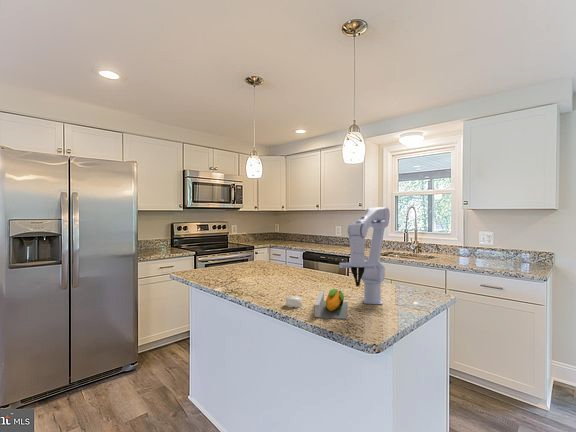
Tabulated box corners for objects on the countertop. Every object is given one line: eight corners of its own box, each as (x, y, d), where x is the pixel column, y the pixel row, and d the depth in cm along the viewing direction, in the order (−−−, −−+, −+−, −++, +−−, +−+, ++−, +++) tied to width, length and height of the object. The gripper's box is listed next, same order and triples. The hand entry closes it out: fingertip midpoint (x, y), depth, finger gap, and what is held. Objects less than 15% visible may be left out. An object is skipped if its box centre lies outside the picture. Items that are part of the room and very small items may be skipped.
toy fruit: (344, 285, 134) (340, 297, 114) (345, 303, 134) (341, 317, 114) (327, 286, 136) (320, 297, 116) (329, 303, 135) (322, 317, 116)
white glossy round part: (287, 303, 136) (287, 295, 136) (302, 304, 135) (302, 296, 135) (284, 307, 130) (284, 299, 130) (300, 308, 128) (300, 300, 128)
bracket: (320, 301, 138) (320, 290, 138) (347, 303, 135) (347, 291, 135) (314, 317, 116) (314, 304, 116) (346, 319, 114) (346, 306, 114)
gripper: (339, 253, 121) (339, 287, 121) (376, 254, 118) (376, 288, 118) (339, 251, 128) (340, 283, 128) (375, 252, 125) (375, 284, 125)
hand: (357, 285), depth 124 cm, fingers closed
